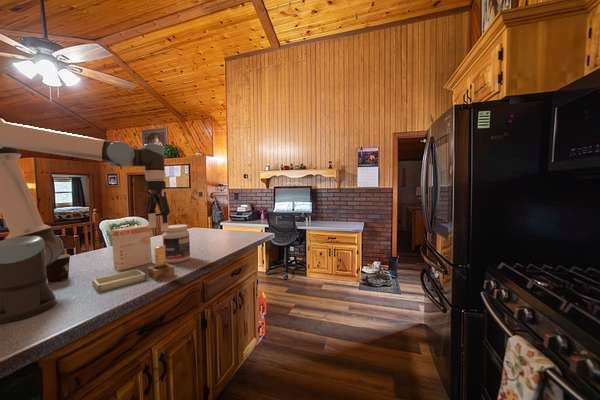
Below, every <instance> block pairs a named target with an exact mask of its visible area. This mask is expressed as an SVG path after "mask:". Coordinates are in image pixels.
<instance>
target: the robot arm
mask: <svg viewBox="0 0 600 400" xmlns="http://www.w3.org/2000/svg"><path fill="white" fill-rule="evenodd" d="M20 150H25V151H26V150H27V151H31V152H32V151H33V152H38V153H39V152H40V153H45V154H53V155H59V156H67V157H73V158H81V159H88V160H94V161H101V162H107V163H109V165H110V166H112V167H119V168H122V167H123V168H124V167H125V168H126V167H131V168H132V167H133V168H135V167H140V168H142V167H143V168H144V177H145V178H144V179H145V180H146V181H145V189H146V190H147V191H148V192H147V200H146V209H145V211H146V213H147V214H148V226H149V228H150V229H153V228H157V219H156V218H157V211H156V208H157V207H158V209H159V217H160V218H159V220H160V221H159V222H160V232H165V231H167V230H169V229H168V226H169V218H168V217H169V215H170V214H171V210H170V205H169V202H168V199H167V192H166V191H163V190H167V184H166V181H165V180H166V176H167V173H166V166H165V149H164V147H163V146H162V145H161V144H156V143H146V144H145V143H144V145H143V147H142V148H133V147H132V146H131V145H130V144H129V143H127V142H124V141H120V140H119V141H113V140H106V139H101V138H96V137H95V138H94V137H90V136H83V135H80V134H79V135H78V134H72V133H67V132H61V131H55V130H51V129H45V128H39V127H35V126H30V125H23V124H19V123H18V124H17V123H12V122H6V121H5V120H4V119H3V118H1V117H0V213H1V215H2V218H3V220H4V221H5V222H4V223H5V224H6V226H7V229H8V231H9V233H8V235H7V236H6V237H5V239H2V240H0V324H5V323H12V322H16V321H19V320H23V319H27V318H30V317H33V316H36V315H40V314H41V313H44V312H46V311H48V310H50V309H51V308H53V307H54V306H55V305H56V304H57V300H56V295H55V294H54V292H53V290H52V288H51V287H50V285H49V283H48V281H47V277H46V266H47V265H49V264H51V263H53V262H54V261H56V260H57V259H58V258H59V256H60V255H62V254H63V251H64V243H63V240H62V239H61V238H60V237H59V236H57V235H55V233H54V231H53V229H52V226H51V225H49V224H48V225H47V224H45V223H44V221H43V219H42V216H41V214H40V212H39V209H38V206H37V205H36V202H35V200H34V198H33V196H32V192H31V190H30V188H29V185H28V183H27V181H26V179H25V177H24V174H23V171H22V169H21V167H20V164H19V161H18V160H19V159H20V158H21V156H22V154H21V152H20Z"/></svg>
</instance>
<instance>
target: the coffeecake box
mask: <svg viewBox="0 0 600 400" xmlns="http://www.w3.org/2000/svg"><path fill="white" fill-rule="evenodd" d="M150 229H151V228H149V225H146V224H142V225H135V226H134V225H133V226H127V227H120V228H113V229H111V244H112V245H111V247H112V258H113V259H112V260H113V269H114V270H117V271H123V270H127V269H131V268H135V267H138V266H143V265H148V264H151V263H153V256H152V245H151V244H152V243H151V230H150Z"/></svg>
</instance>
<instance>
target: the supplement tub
mask: <svg viewBox="0 0 600 400" xmlns="http://www.w3.org/2000/svg"><path fill="white" fill-rule="evenodd" d="M168 229H169V230H167V231H164V232H163V234H162V246H165V258H166V263H168V264H176V263H182V262H185V261H187V260H189V259H190V258H191V248H190V247H191V246H190V245H191V244H190V232H189V230H188V224H172V225H168Z"/></svg>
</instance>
